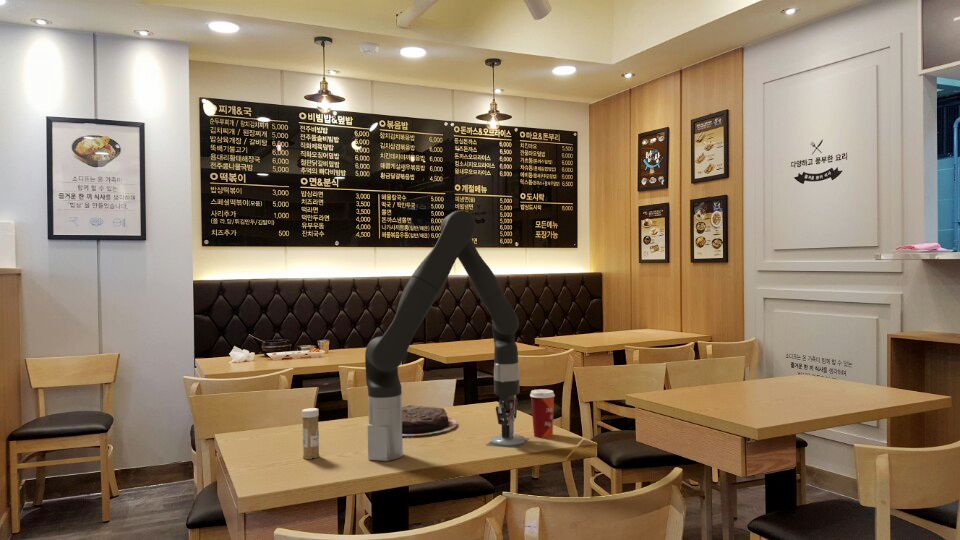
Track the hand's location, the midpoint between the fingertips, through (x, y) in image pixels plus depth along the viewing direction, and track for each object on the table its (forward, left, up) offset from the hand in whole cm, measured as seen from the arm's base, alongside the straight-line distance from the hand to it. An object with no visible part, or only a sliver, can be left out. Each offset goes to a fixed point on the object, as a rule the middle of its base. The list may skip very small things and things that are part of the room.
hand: (507, 435), depth 188 cm
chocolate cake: (+10, +36, -3) cm, 37 cm away
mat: (0, 0, -2) cm, 2 cm away
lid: (0, 0, -2) cm, 2 cm away
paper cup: (+10, -8, -2) cm, 13 cm away
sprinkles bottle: (-30, +48, -2) cm, 57 cm away
